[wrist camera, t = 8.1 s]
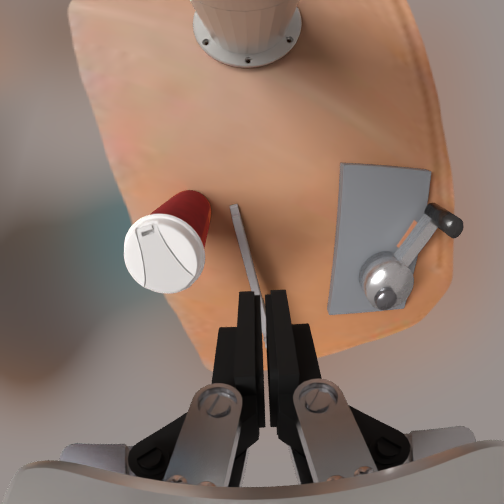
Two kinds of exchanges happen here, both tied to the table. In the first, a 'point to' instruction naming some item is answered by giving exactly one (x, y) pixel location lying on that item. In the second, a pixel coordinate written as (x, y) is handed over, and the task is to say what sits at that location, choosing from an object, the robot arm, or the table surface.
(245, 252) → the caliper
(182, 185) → the table surface
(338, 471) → the robot arm
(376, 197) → the stand
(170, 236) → the paper cup
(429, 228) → the metal crank handle
